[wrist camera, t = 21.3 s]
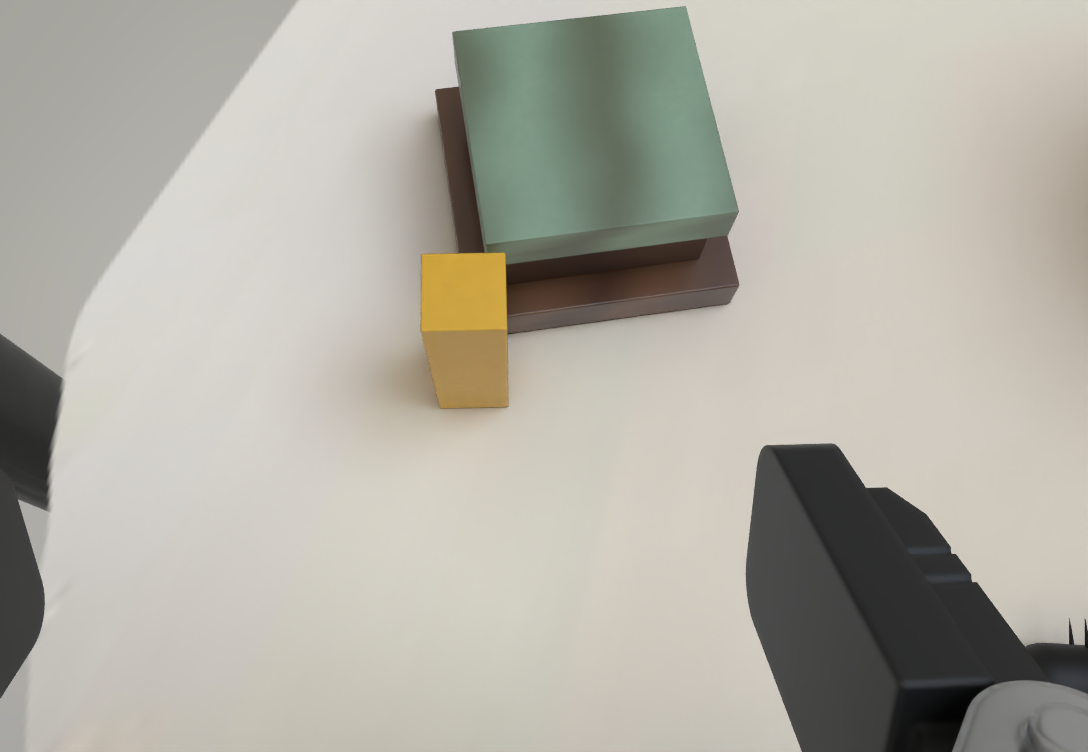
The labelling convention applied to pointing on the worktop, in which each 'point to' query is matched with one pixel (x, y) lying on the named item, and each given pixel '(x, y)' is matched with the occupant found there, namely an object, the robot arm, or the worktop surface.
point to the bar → (466, 328)
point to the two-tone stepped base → (590, 167)
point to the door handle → (1063, 662)
